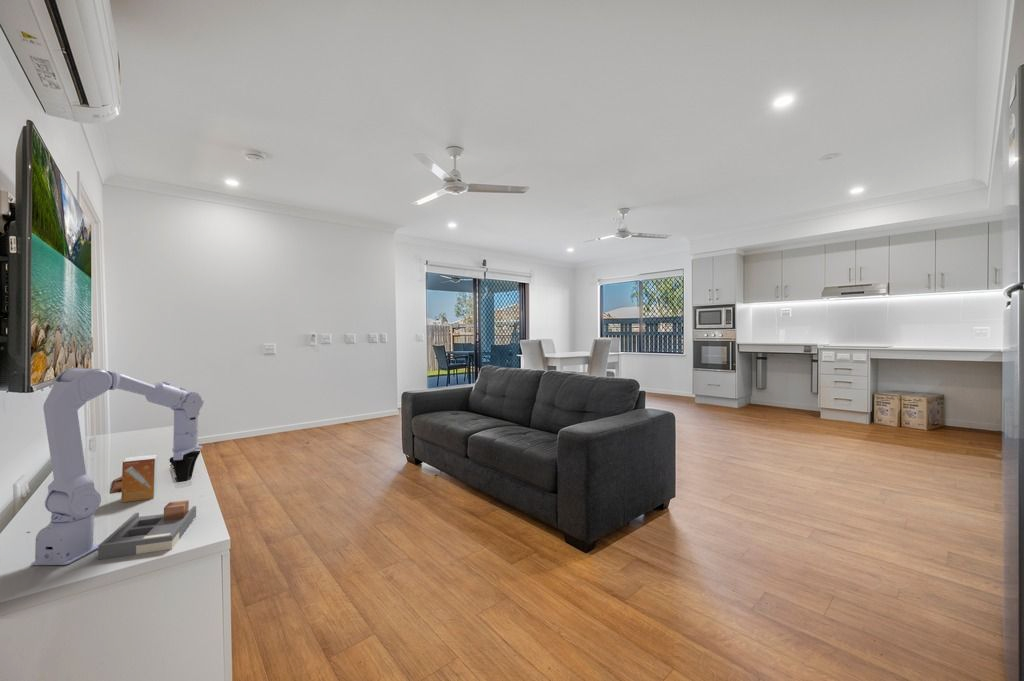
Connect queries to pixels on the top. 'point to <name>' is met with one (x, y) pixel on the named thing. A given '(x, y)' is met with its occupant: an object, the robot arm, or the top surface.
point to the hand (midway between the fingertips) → (184, 478)
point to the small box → (139, 478)
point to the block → (176, 510)
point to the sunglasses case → (117, 485)
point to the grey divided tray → (145, 535)
